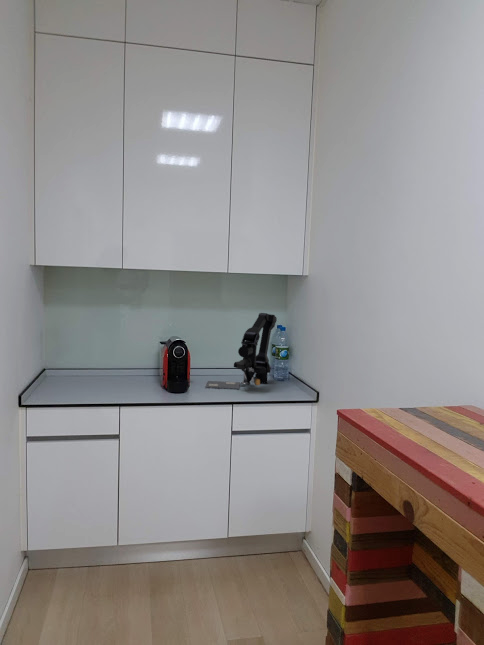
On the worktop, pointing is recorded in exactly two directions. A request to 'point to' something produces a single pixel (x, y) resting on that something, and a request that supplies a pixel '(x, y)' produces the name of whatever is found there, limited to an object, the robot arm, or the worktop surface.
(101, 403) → the worktop surface
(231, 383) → the board
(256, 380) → the swing arm
